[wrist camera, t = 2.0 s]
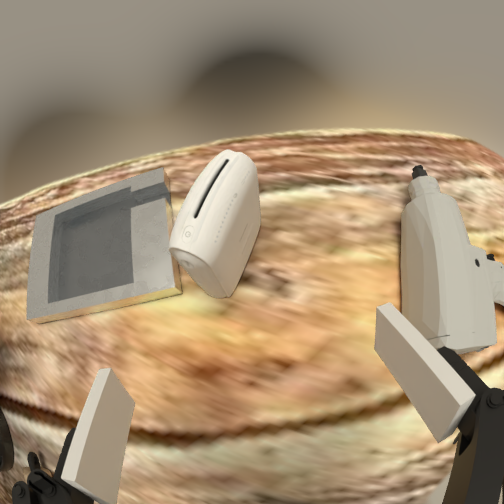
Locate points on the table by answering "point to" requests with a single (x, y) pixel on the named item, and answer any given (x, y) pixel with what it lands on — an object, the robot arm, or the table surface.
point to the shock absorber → (33, 465)
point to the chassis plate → (103, 251)
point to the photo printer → (218, 223)
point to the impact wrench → (446, 272)
